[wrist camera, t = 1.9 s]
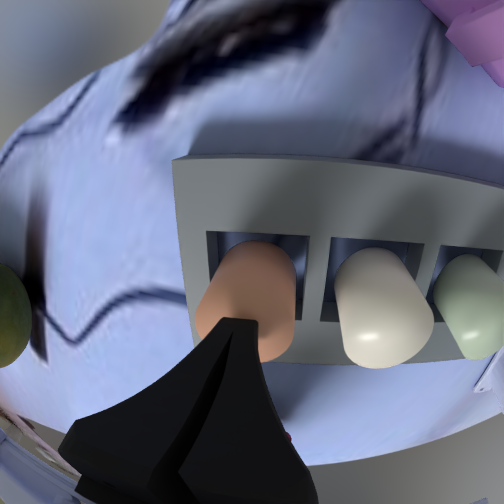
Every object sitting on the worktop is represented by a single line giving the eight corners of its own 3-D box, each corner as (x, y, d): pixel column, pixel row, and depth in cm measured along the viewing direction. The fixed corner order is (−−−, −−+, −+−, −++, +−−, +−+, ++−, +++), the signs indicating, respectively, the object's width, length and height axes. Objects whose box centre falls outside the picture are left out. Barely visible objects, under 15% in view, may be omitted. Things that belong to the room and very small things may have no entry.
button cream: (412, 249, 13) (446, 295, 9) (395, 313, 15) (416, 366, 11) (339, 244, 14) (353, 293, 10) (329, 311, 15) (335, 368, 12)
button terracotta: (298, 242, 14) (298, 290, 10) (293, 309, 16) (290, 367, 12) (217, 238, 14) (189, 282, 11) (221, 304, 16) (200, 357, 12)
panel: (512, 187, 12) (530, 197, 10) (463, 340, 17) (472, 357, 15) (186, 155, 15) (171, 160, 13) (203, 333, 20) (195, 352, 18)
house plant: (-5, 406, 57) (-25, 435, 42) (18, 425, 56) (-3, 456, 41) (12, 427, 63) (-5, 453, 49) (35, 443, 62) (18, 472, 48)
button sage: (493, 255, 12) (532, 293, 8) (473, 311, 14) (501, 356, 10) (443, 251, 13) (481, 295, 9) (424, 313, 15) (449, 364, 11)
